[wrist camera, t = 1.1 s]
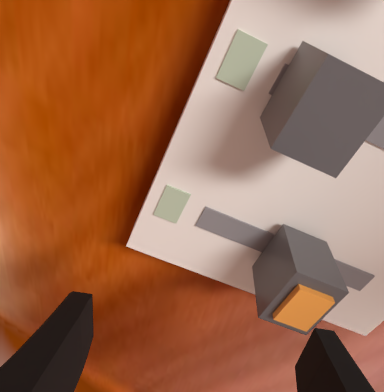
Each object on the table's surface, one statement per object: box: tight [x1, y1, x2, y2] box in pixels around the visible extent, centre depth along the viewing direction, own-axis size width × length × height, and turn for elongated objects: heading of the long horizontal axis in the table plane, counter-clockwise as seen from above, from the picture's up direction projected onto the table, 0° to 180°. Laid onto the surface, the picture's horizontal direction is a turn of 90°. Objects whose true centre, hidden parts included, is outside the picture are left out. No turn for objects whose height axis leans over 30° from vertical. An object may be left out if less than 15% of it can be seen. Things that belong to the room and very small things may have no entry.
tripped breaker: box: [252, 224, 349, 335], centre depth 15 cm, size 2×3×4 cm
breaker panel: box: [126, 0, 384, 336], centre depth 14 cm, size 15×21×2 cm
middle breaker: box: [260, 41, 384, 178], centre depth 11 cm, size 2×3×3 cm
